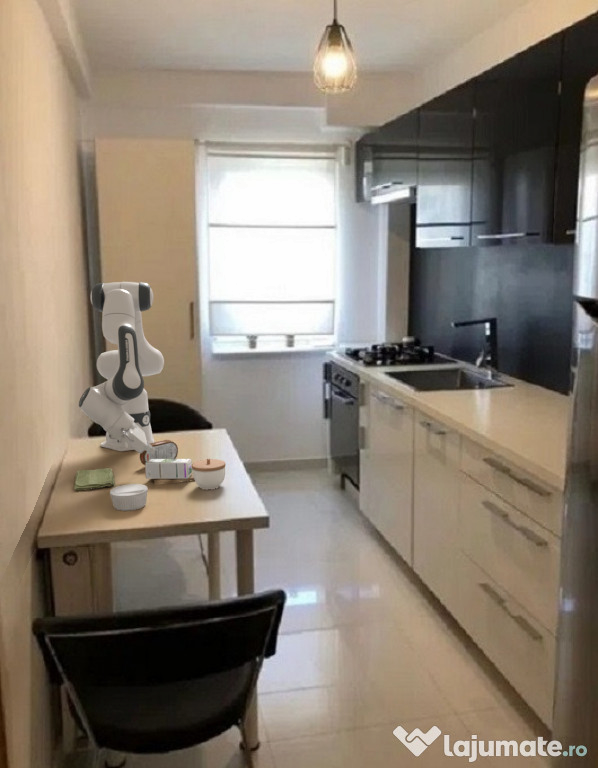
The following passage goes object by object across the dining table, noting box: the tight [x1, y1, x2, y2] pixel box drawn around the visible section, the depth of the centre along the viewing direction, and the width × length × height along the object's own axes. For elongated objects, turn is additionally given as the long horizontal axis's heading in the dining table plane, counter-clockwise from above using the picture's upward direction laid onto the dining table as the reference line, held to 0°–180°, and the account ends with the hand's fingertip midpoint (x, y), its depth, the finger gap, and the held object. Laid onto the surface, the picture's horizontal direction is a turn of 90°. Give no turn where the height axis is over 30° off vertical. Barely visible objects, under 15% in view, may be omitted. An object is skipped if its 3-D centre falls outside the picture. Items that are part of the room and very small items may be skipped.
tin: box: [139, 439, 179, 466], centre depth 259 cm, size 15×3×8 cm, turn 134°
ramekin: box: [109, 483, 149, 512], centre depth 215 cm, size 11×11×5 cm
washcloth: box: [73, 467, 116, 492], centre depth 241 cm, size 13×18×3 cm
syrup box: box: [144, 458, 193, 480], centre depth 239 cm, size 6×6×14 cm
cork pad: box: [153, 470, 194, 486], centre depth 244 cm, size 14×14×1 cm
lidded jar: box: [192, 457, 226, 491], centre depth 231 cm, size 11×11×9 cm
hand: (153, 451), depth 241 cm, fingers closed
